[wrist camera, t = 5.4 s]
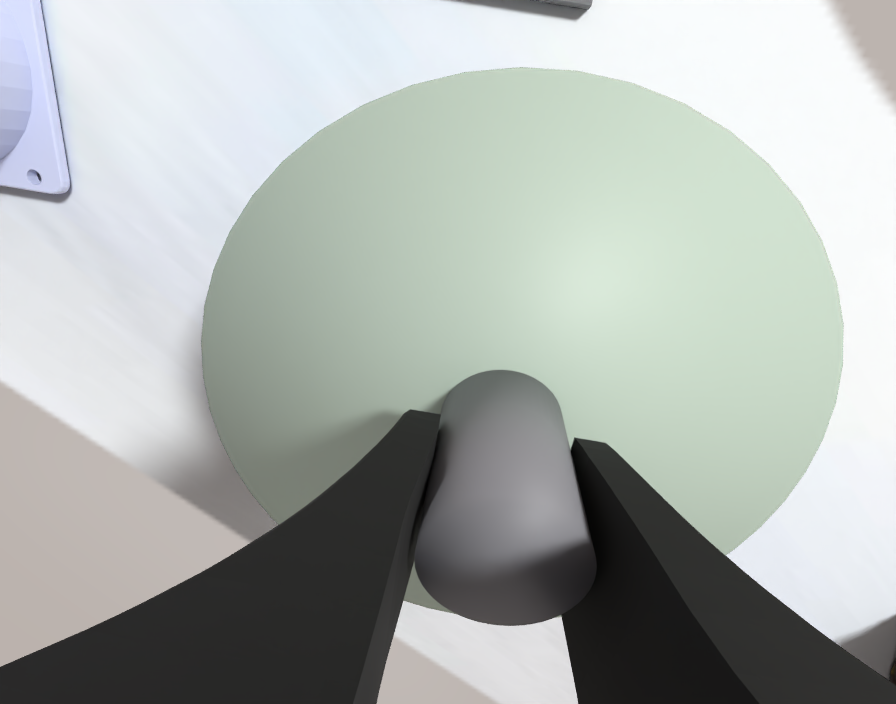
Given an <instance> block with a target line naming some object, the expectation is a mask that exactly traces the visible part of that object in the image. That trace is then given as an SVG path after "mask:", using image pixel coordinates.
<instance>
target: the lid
mask: <svg viewBox="0 0 896 704" xmlns="http://www.w3.org/2000/svg"><path fill="white" fill-rule="evenodd" d="M201 348H202V367H203V378H204V383H205V388H206V393H207V398H208V403H209V408H210V412H211V414H212V417H213V420H214V423H215V426H216V429H217V432H218V435H219V437H220V440H221V442H222V444H223V446H224V448H225V450H226V452H227V454H228V456H229V458H230V460H231V462H232V464H233V466H234V468H235V470H236V471H237V473H238V474H239V476H240V477H241V479H242V480H243V482H244V483H245V485H246V486H247V488H248V489H249V491H250V492H251V494H252V495H253V496H254V498H255V499H256V500H257V501H258V502H259V503H260V505H261V506H262V507H263V508H264V509H265V511H266V512H267V513H268V514H269V515H270V517H271V518H272V519H273V520H274V521H275V522H276V523H277V524H281V523H282V522H284V521H285V520H286V519H288V518H289V517H291V516H292V515H294V514H295V513H296V512H298V511H299V510H301V509H302V508H303V507H305V506H306V505H307V504H309V503H310V502H311V501H313V500H314V499H315V498H317V497H318V496H319V495H320V494H322V493H323V492H324V491H325V490H326V489H328V488H329V487H330V486H331V485H332V484H334V483H335V482H336V481H337V480H338V479H340V478H341V477H342V476H343V475H344V474H345V473H347V472H348V471H349V470H350V469H351V468H352V467H354V466H355V465H356V464H357V463H358V462H359V461H360V460H361V459H362V458H363V457H364V456H365V455H366V454H367V453H368V452H369V451H370V450H371V449H372V448H373V447H374V446H376V445H377V444H378V443H379V441H380V440H381V439H382V438H383V437H384V436H385V435H386V434H387V433H388V432H389V431H390V430H391V429H392V427H393V426H394V425H395V424H396V423H397V422H398V420H399V419H400V418H401V416H402V415H403V414H404V413H405V412H407V411H408V410H410V409H412V410H418V411H424V412H430V413H436V414H441V417H440V423H439V429H438V435H437V441H436V446H435V452H434V457H433V463H432V468H431V472H430V476H429V480H428V484H427V489H426V494H425V500H424V505H423V511H422V516H421V522H420V527H419V533H418V538H417V544H416V549H415V559H414V564H413V567H412V571H411V575H410V578H409V582H408V585H407V589H406V592H405V596H404V600H403V601H407V602H410V603H413V604H417V605H420V606H423V607H427V608H431V609H435V610H440V611H445V612H450V613H454V614H458V615H460V616H463V617H465V618H468V619H471V620H474V621H477V622H482V623H487V624H493V625H505V626H516V625H527V624H534V623H538V622H543V621H546V620H549V619H552V618H556V617H562V616H561V614H563V613H565V612H567V611H569V610H570V609H572V608H573V607H574V606H576V605H577V604H578V603H579V602H580V601H581V600H582V599H583V598H584V597H585V596H586V595H587V593H588V592H589V591H590V589H591V587H592V585H593V583H594V580H595V576H596V569H597V563H596V556H595V551H594V547H593V543H592V539H591V534H590V530H589V526H588V522H587V518H586V513H585V509H584V505H583V501H582V496H581V492H580V488H579V484H578V479H577V475H576V471H575V467H574V463H573V458H572V454H571V447H572V444H573V440H574V437H575V438H581V439H587V440H593V441H598V442H604V443H607V444H608V445H609V446H610V447H611V448H613V449H614V450H615V451H616V452H617V453H618V454H619V455H620V456H621V457H622V458H623V459H624V460H625V461H626V462H627V463H628V464H629V465H630V466H631V467H632V468H633V469H634V470H635V471H636V472H637V473H638V474H639V475H640V476H641V477H642V478H643V479H645V480H646V481H647V482H648V483H649V484H650V485H651V486H652V487H653V488H654V489H655V490H656V491H657V492H658V493H659V494H660V495H661V496H662V497H663V498H664V499H665V500H666V501H667V502H668V503H669V504H670V505H671V506H672V507H673V508H674V509H675V510H676V511H677V512H678V513H679V514H680V515H681V516H682V517H683V518H685V519H686V520H687V521H688V522H689V523H690V524H691V525H692V526H693V527H694V528H695V529H696V530H697V531H699V532H700V533H701V534H702V535H703V536H704V537H705V538H706V539H707V540H708V541H709V542H711V543H712V544H713V545H714V546H715V547H716V548H717V549H719V550H720V551H721V552H722V553H723V554H724V555H727V554H728V553H730V552H731V551H733V550H734V549H735V548H737V547H738V546H739V545H740V544H741V543H742V542H744V541H745V540H746V539H747V538H748V537H749V536H751V535H752V534H753V533H754V532H755V531H757V530H758V529H759V528H760V527H761V526H762V525H763V524H764V523H765V522H766V521H767V520H768V519H769V517H770V516H771V515H772V514H773V513H774V512H775V511H776V510H777V509H778V508H779V507H780V506H781V505H782V503H783V502H784V501H785V500H786V499H787V497H788V496H789V494H790V493H791V492H792V490H793V489H794V487H795V486H796V485H797V483H798V482H799V480H800V479H801V478H802V476H803V475H804V473H805V472H806V470H807V468H808V467H809V465H810V463H811V461H812V459H813V457H814V455H815V453H816V451H817V450H818V448H819V446H820V444H821V442H822V440H823V438H824V435H825V432H826V429H827V426H828V424H829V421H830V418H831V415H832V412H833V410H834V407H835V404H836V399H837V394H838V388H839V383H840V377H841V372H842V367H843V319H842V312H841V306H840V300H839V293H838V287H837V282H836V279H835V276H834V273H833V271H832V268H831V265H830V262H829V259H828V256H827V253H826V250H825V247H824V245H823V242H822V240H821V238H820V236H819V235H818V233H817V231H816V229H815V228H814V226H813V224H812V222H811V220H810V219H809V217H808V215H807V213H806V212H805V210H804V208H803V206H802V204H801V203H800V201H799V200H798V199H797V198H796V196H795V195H794V194H793V193H792V191H791V190H790V189H789V188H788V187H787V185H786V184H785V183H784V182H783V181H782V179H781V178H780V177H779V176H778V174H777V173H776V172H775V171H774V170H773V168H772V167H771V166H770V165H769V164H768V163H767V162H766V161H765V160H764V159H762V158H761V157H760V156H759V155H758V154H757V153H755V152H754V151H753V150H752V149H751V148H749V147H748V146H747V145H746V144H745V143H744V142H742V141H741V140H740V139H739V138H738V137H737V136H735V135H734V134H733V133H732V132H731V131H729V130H728V129H726V128H724V127H723V126H721V125H719V124H718V123H716V122H714V121H713V120H711V119H709V118H708V117H706V116H704V115H703V114H701V113H699V112H698V111H696V110H694V109H693V108H691V107H689V106H688V105H686V104H684V103H682V102H679V101H677V100H674V99H672V98H669V97H667V96H664V95H662V94H659V93H656V92H654V91H651V90H649V89H646V88H644V87H641V86H639V85H636V84H634V83H630V82H625V81H621V80H616V79H612V78H607V77H603V76H598V75H594V74H589V73H585V72H580V71H571V70H555V69H540V68H524V67H519V68H507V69H496V70H484V71H473V72H464V73H460V74H455V75H451V76H447V77H443V78H439V79H435V80H431V81H427V82H422V83H418V84H414V85H411V86H408V87H406V88H403V89H401V90H398V91H396V92H393V93H391V94H389V95H386V96H384V97H381V98H379V99H376V100H374V101H371V102H369V103H367V104H364V105H362V106H360V107H359V108H357V109H355V110H354V111H352V112H350V113H349V114H347V115H345V116H344V117H342V118H340V119H339V120H337V121H335V122H334V123H332V124H330V125H329V126H327V127H325V128H324V129H322V130H320V131H319V132H317V133H316V134H315V135H314V136H313V137H311V138H310V139H309V140H308V141H307V142H305V143H304V144H303V145H302V146H301V147H299V148H298V149H297V150H296V151H295V152H293V153H292V154H291V155H290V156H289V157H287V158H286V159H285V160H284V161H283V162H282V163H281V164H280V165H279V166H278V167H277V168H276V170H275V171H274V172H273V173H272V174H271V175H270V176H269V177H268V179H267V180H266V181H265V182H264V183H263V184H262V185H261V187H260V188H259V189H258V190H257V191H256V192H255V193H254V195H253V196H252V197H251V199H250V200H249V202H248V204H247V205H246V207H245V208H244V210H243V211H242V213H241V215H240V216H239V218H238V219H237V221H236V223H235V224H234V226H233V227H232V229H231V231H230V232H229V235H228V237H227V239H226V242H225V244H224V246H223V249H222V251H221V253H220V256H219V258H218V260H217V263H216V265H215V267H214V270H213V274H212V278H211V282H210V286H209V290H208V294H207V298H206V302H205V306H204V316H203V327H202V337H201Z"/></svg>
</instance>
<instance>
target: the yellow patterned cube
mask: <svg viewBox="0 0 896 704" xmlns="http://www.w3.org/2000/svg"><path fill="white" fill-rule="evenodd" d="M890 682H891V683H893V684H894V685H896V661H895V664H894V666H893V668H892V670H891V675H890Z"/></svg>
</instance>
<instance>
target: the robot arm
mask: <svg viewBox="0 0 896 704" xmlns="http://www.w3.org/2000/svg"><path fill="white" fill-rule="evenodd" d="M37 172H38V173H39V174H40V176H41V178H42V181H41V182H40V181H39V179H38V177H37ZM0 186H6V187H12V188H18V189H24V190H30V191H36V192H42V193H48V194H62V193H65V192H67V191H68V189H69V187H70V179H69V173H68V167H67V161H66V155H65V149H64V143H63V137H62V131H61V125H60V118H59V112H58V106H57V100H56V94H55V88H54V82H53V76H52V70H51V64H50V58H49V52H48V45H47V39H46V33H45V27H44V21H43V15H42V9H41V3H40V0H0ZM440 417H441V414H436V413H430V412H424V411H418V410H412V409H410V410H408V411H407V412H405V413H404V414H403V415H402V416H401V418H400V419H399V420H398V422H397V423H396V424H395V425H394V426H393V427H392V429H391V430H390V431H389V432H388V433H387V434H386V435H385V436H384V437H383V438H382V439H381V440H380V441H379V443H378V444H377V445H376V446H374V447H373V448H372V449H371V450H370V451H369V452H368V453H367V454H366V455H365V456H364V457H363V458H362V459H361V460H360V461H359V462H358V463H357V464H356V465H355V466H354V467H352V468H351V469H350V470H349V471H348V472H347V473H345V474H344V475H343V476H342V477H341V478H340V479H338V480H337V481H336V482H335V483H334V484H332V485H331V486H330V487H329V488H328V489H326V490H325V491H324V492H323V493H322V494H320V495H319V496H318V497H317V498H315V499H314V500H313V501H311V502H310V503H309V504H307V505H306V506H305V507H303V508H302V509H301V510H299V511H298V512H296V513H295V514H294V515H292V516H291V517H289V518H288V519H286V520H285V521H284V522H282V523H281V524H279V525H278V526H276V527H275V528H273V529H272V530H270V531H269V532H267V533H266V534H264V535H262V536H261V537H259V538H258V539H256V540H254V541H253V542H251V543H250V544H248V545H247V546H245V547H243V548H242V549H240V550H239V551H237V552H235V553H234V554H232V555H231V556H229V557H227V558H225V559H224V560H222V561H220V562H218V563H217V564H215V565H213V566H212V567H210V568H208V569H206V570H205V571H203V572H201V573H199V574H197V575H195V576H193V577H192V578H190V579H188V580H186V581H184V582H182V583H180V584H178V585H176V586H174V587H172V588H170V589H169V590H167V591H165V592H163V593H161V594H159V595H157V596H155V597H153V598H151V599H149V600H147V601H146V602H143V603H141V604H139V605H137V606H135V607H133V608H131V609H129V610H127V611H125V612H123V613H121V614H119V615H117V616H115V617H113V618H110V619H108V620H106V621H104V622H102V623H100V624H97V625H95V626H93V627H91V628H89V629H87V630H85V631H82V632H80V633H78V634H75V635H73V636H71V637H68V638H66V639H64V640H61V641H59V642H57V643H55V644H52V645H50V646H48V647H45V648H43V649H41V650H38V651H36V652H34V653H32V654H29V655H27V656H24V657H22V658H20V659H18V660H15V661H13V662H11V663H8V664H6V665H4V666H1V667H0V704H376V703H377V698H378V693H379V689H380V684H381V680H382V676H383V672H384V668H385V664H386V660H387V656H388V653H389V649H390V646H391V642H392V639H393V635H394V632H395V628H396V624H397V621H398V617H399V614H400V610H401V607H402V603H403V600H404V596H405V592H406V589H407V585H408V582H409V578H410V575H411V571H412V567H413V564H414V559H415V549H416V544H417V538H418V533H419V527H420V522H421V516H422V511H423V505H424V500H425V494H426V489H427V484H428V480H429V476H430V472H431V468H432V463H433V457H434V452H435V446H436V441H437V435H438V429H439V423H440ZM571 454H572V458H573V463H574V467H575V471H576V475H577V479H578V484H579V488H580V492H581V496H582V501H583V505H584V509H585V513H586V518H587V522H588V526H589V530H590V534H591V539H592V543H593V547H594V551H595V556H596V563H597V569H596V576H595V580H594V583H593V585H592V587H591V589H590V591H589V592H588V593H587V595H586V596H585V597H584V598H583V599H582V600H581V601H580V602H579V603H578V604H577V605H576V606H574V607H573V608H572V609H570V610H569V611H567V612H565V613H563V614H561V616H562V621H563V626H564V631H565V636H566V641H567V646H568V651H569V657H570V662H571V667H572V672H573V677H574V682H575V687H576V692H577V698H578V704H896V685H894V684H893V683H891V682H890V681H888V680H887V679H886V678H884V677H883V676H881V675H880V674H878V673H877V672H876V671H874V670H873V669H871V668H870V667H868V666H867V665H866V664H864V663H863V662H861V661H860V660H858V659H857V658H855V657H854V656H853V655H851V654H850V653H848V652H847V651H846V650H844V649H843V648H841V647H840V646H839V645H837V644H836V643H835V642H833V641H832V640H831V639H829V638H828V637H826V636H825V635H824V634H822V633H821V632H820V631H818V630H817V629H816V628H814V627H813V626H812V625H810V624H809V623H808V622H807V621H805V620H804V619H803V618H801V617H800V616H799V615H798V614H796V613H795V612H794V611H792V610H791V609H790V608H789V607H787V606H786V605H785V604H783V603H782V602H781V601H780V600H778V599H777V598H776V597H774V596H773V595H772V594H771V593H769V592H768V591H767V590H766V589H764V588H763V587H762V586H761V585H759V584H758V583H757V582H756V581H755V580H753V579H752V578H751V577H750V576H749V575H747V574H746V573H745V572H744V571H743V570H741V569H740V568H739V567H738V566H737V565H736V564H735V563H733V562H732V561H731V560H730V559H729V558H728V557H727V556H725V555H724V554H723V553H722V552H721V551H720V550H719V549H717V548H716V547H715V546H714V545H713V544H712V543H711V542H709V541H708V540H707V539H706V538H705V537H704V536H703V535H702V534H701V533H700V532H699V531H697V530H696V529H695V528H694V527H693V526H692V525H691V524H690V523H689V522H688V521H687V520H686V519H685V518H683V517H682V516H681V515H680V514H679V513H678V512H677V511H676V510H675V509H674V508H673V507H672V506H671V505H670V504H669V503H668V502H667V501H666V500H665V499H664V498H663V497H662V496H661V495H660V494H659V493H658V492H657V491H656V490H655V489H654V488H653V487H652V486H651V485H650V484H649V483H648V482H647V481H646V480H645V479H643V478H642V477H641V476H640V475H639V474H638V473H637V472H636V471H635V470H634V469H633V468H632V467H631V466H630V465H629V464H628V463H627V462H626V461H625V460H624V459H623V458H622V457H621V456H620V455H619V454H618V453H617V452H616V451H615V450H614V449H613V448H611V447H610V446H609V445H608V444H607V443H604V442H598V441H593V440H587V439H581V438H575V437H574V440H573V444H572V447H571Z"/></svg>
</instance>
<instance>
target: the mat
mask: <svg viewBox="0 0 896 704" xmlns="http://www.w3.org/2000/svg"><path fill="white" fill-rule="evenodd" d="M532 1H538V2H545V3H551V4H557V5H563V6H570V7H576V8H582V9H588V10H589V8H590V7H591V5H592V0H532Z"/></svg>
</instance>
